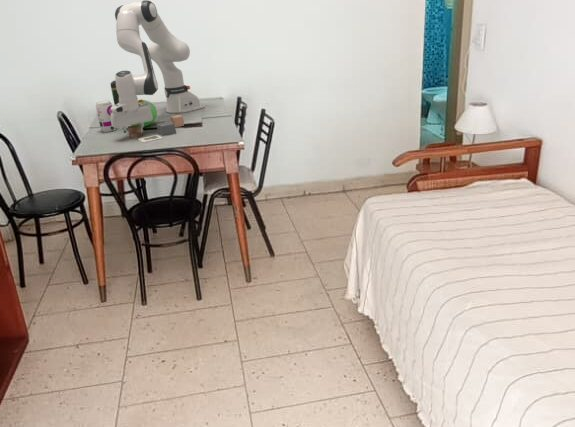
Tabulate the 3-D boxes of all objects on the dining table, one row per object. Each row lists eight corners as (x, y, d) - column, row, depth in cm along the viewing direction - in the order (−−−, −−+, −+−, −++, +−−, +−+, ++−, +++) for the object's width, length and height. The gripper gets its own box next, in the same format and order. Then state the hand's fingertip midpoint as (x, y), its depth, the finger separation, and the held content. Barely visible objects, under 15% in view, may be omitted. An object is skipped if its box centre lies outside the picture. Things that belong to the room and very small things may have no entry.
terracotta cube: (180, 124, 278) (179, 114, 276) (184, 125, 274) (182, 116, 272) (171, 125, 276) (170, 116, 274) (175, 127, 272) (173, 118, 270)
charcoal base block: (171, 130, 266) (169, 121, 264) (176, 133, 261) (174, 123, 258) (158, 133, 263) (156, 124, 261) (162, 136, 257) (160, 126, 255)
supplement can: (120, 128, 279) (114, 100, 273) (111, 132, 272) (104, 103, 266) (107, 128, 282) (101, 100, 275) (98, 132, 275) (91, 104, 268)
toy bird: (145, 131, 269) (140, 102, 263) (118, 130, 275) (112, 102, 269) (164, 122, 284) (160, 95, 278) (138, 121, 290) (133, 95, 284)
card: (157, 135, 259) (157, 134, 259) (162, 138, 253) (162, 137, 253) (137, 139, 255) (137, 138, 255) (142, 142, 249) (142, 141, 248)
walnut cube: (139, 134, 264) (137, 124, 262) (142, 136, 260) (140, 126, 258) (129, 136, 262) (127, 126, 260) (132, 138, 258) (130, 128, 256)
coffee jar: (129, 111, 316) (123, 80, 309) (116, 113, 314) (109, 82, 307) (128, 109, 325) (122, 78, 317) (115, 110, 323) (109, 80, 315)
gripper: (148, 100, 262) (153, 127, 267) (107, 108, 253) (113, 136, 258) (152, 102, 257) (157, 130, 262) (110, 110, 248) (116, 138, 253)
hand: (135, 133), depth 260 cm, fingers closed on walnut cube, 5 cm apart
